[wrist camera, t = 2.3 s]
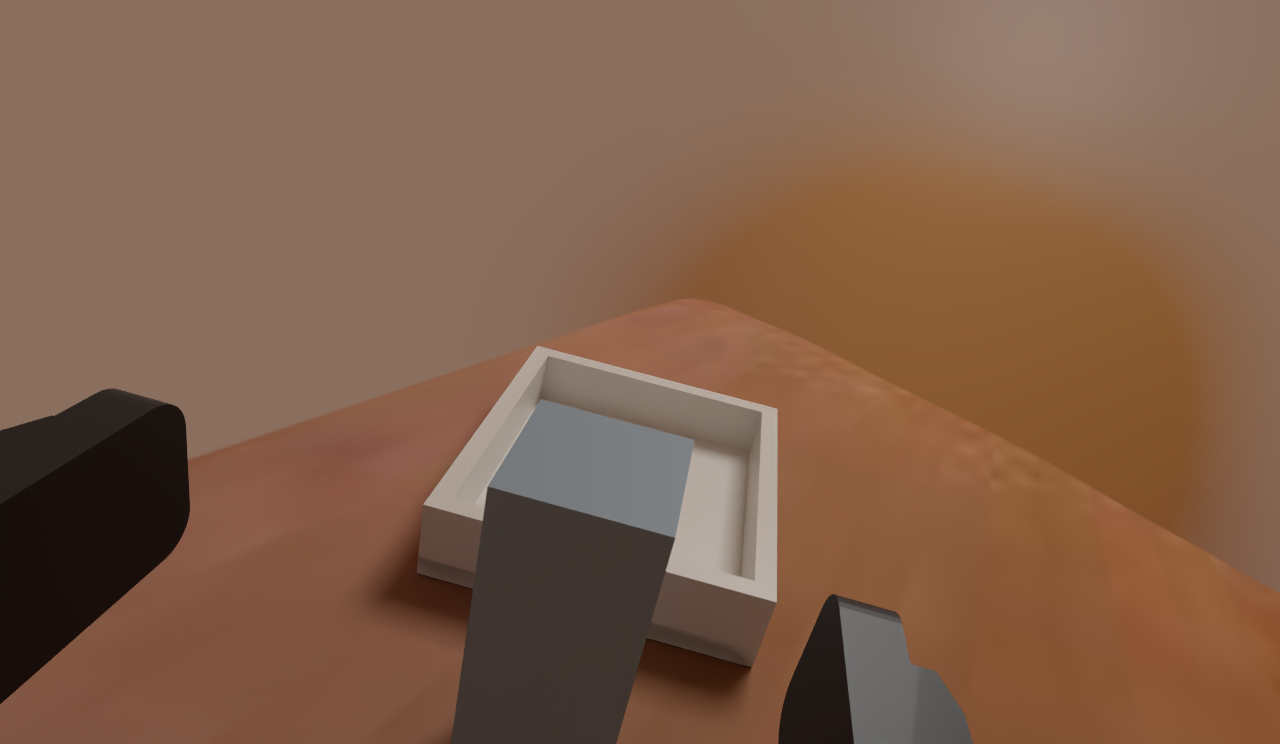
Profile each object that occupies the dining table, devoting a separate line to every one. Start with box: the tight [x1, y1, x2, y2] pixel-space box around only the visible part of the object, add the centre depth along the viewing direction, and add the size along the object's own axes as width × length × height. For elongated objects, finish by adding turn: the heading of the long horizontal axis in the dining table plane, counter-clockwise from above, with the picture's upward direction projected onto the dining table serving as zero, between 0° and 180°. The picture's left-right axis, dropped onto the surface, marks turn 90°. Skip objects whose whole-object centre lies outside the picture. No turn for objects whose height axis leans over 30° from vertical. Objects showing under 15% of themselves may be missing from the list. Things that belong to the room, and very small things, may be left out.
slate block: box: [451, 399, 694, 744], centre depth 25 cm, size 5×5×14 cm
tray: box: [417, 346, 777, 667], centre depth 42 cm, size 16×18×4 cm
